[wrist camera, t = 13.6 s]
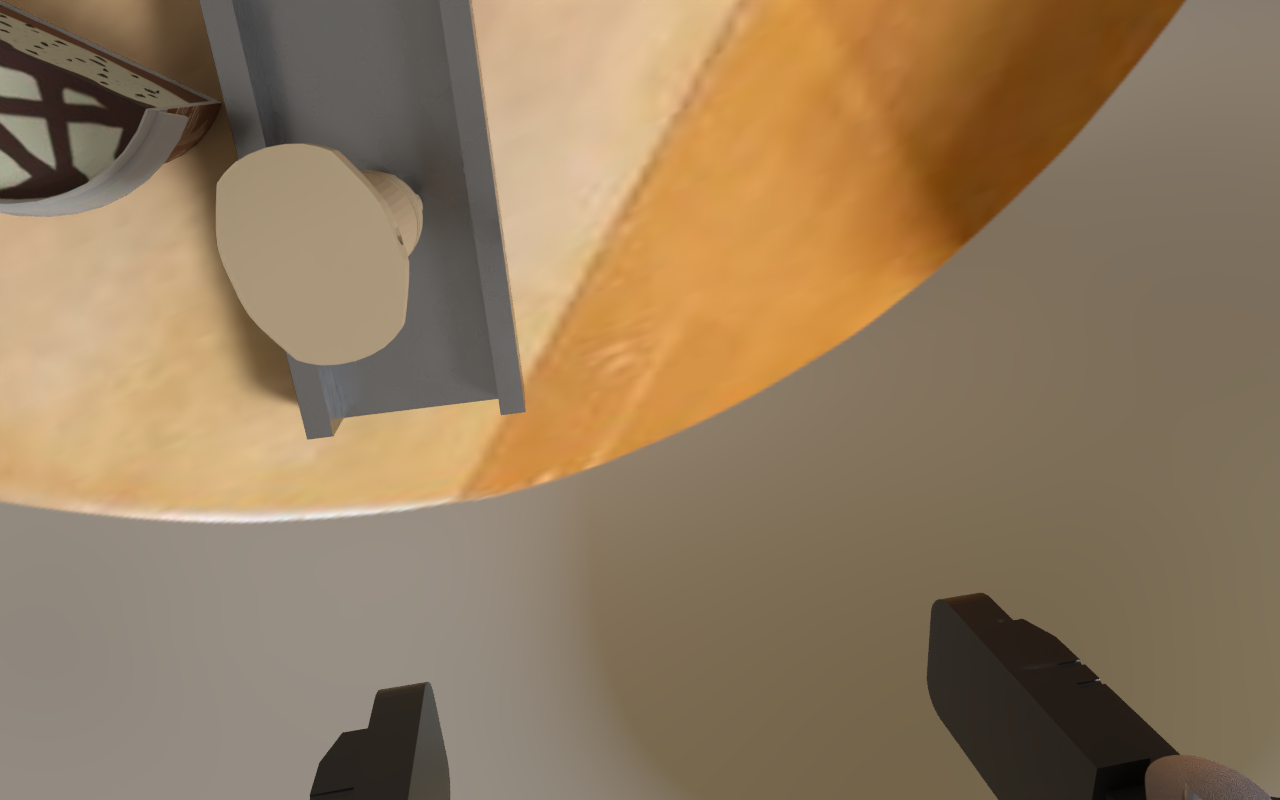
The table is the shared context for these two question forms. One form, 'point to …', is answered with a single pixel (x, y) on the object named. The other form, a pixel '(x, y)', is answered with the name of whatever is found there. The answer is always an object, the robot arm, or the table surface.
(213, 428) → the table surface
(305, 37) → the track
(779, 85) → the table surface
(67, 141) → the food container
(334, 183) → the handle
